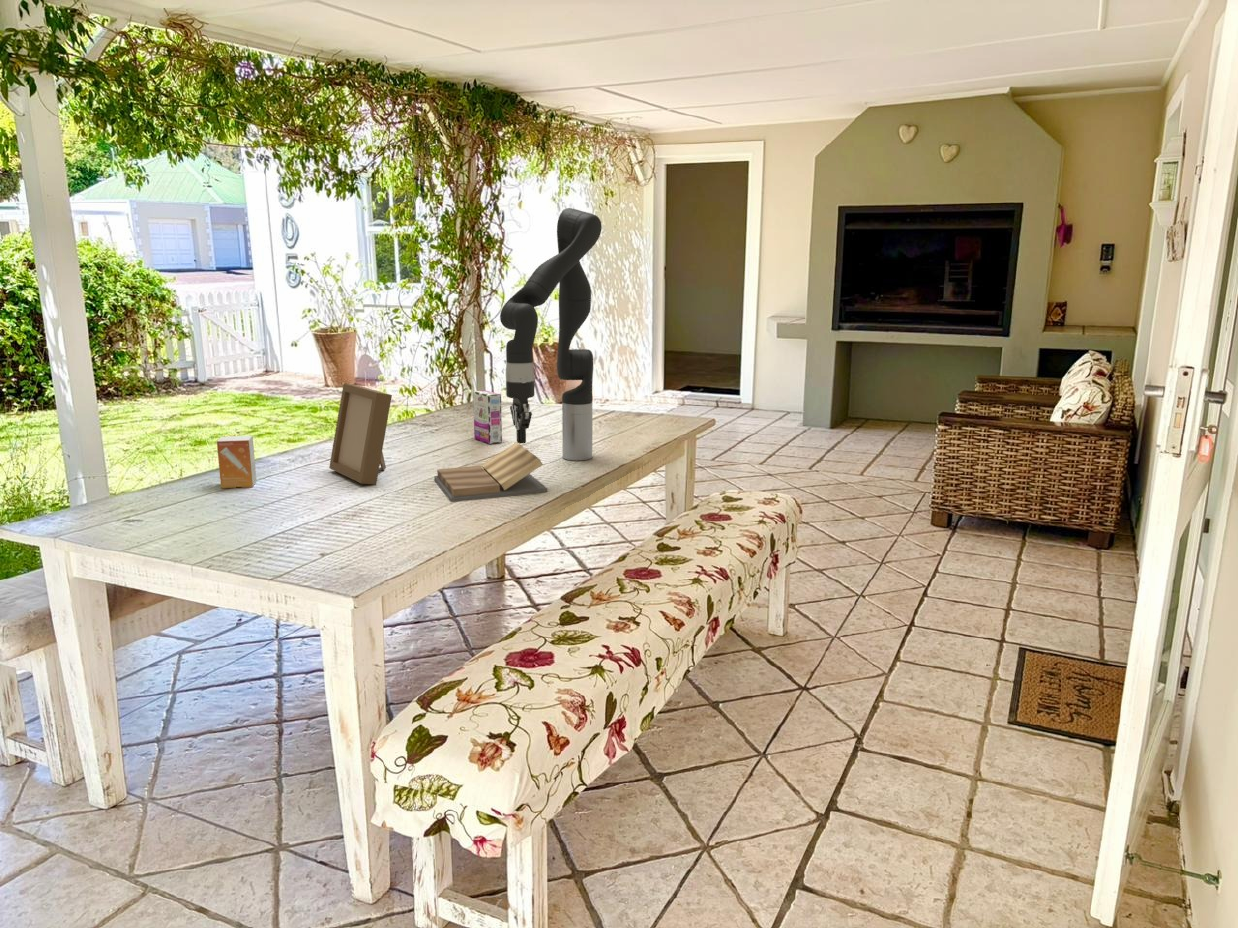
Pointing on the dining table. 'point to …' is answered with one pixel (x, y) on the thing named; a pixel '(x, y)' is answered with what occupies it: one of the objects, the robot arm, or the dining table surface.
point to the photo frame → (360, 433)
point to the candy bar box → (487, 417)
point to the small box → (236, 461)
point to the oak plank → (511, 465)
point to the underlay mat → (501, 489)
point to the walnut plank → (468, 481)
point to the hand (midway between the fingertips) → (521, 442)
